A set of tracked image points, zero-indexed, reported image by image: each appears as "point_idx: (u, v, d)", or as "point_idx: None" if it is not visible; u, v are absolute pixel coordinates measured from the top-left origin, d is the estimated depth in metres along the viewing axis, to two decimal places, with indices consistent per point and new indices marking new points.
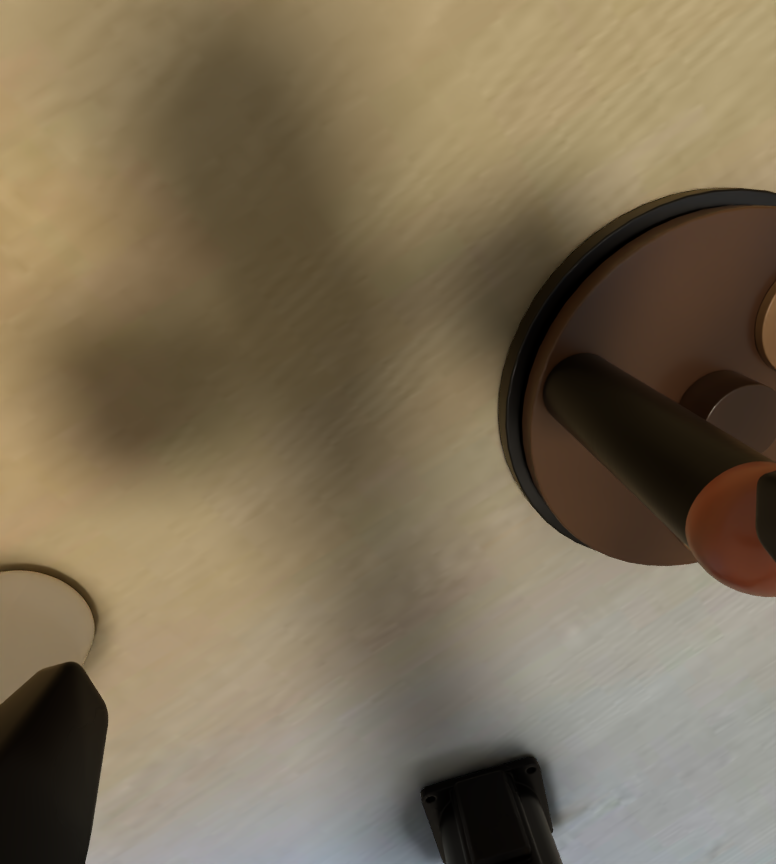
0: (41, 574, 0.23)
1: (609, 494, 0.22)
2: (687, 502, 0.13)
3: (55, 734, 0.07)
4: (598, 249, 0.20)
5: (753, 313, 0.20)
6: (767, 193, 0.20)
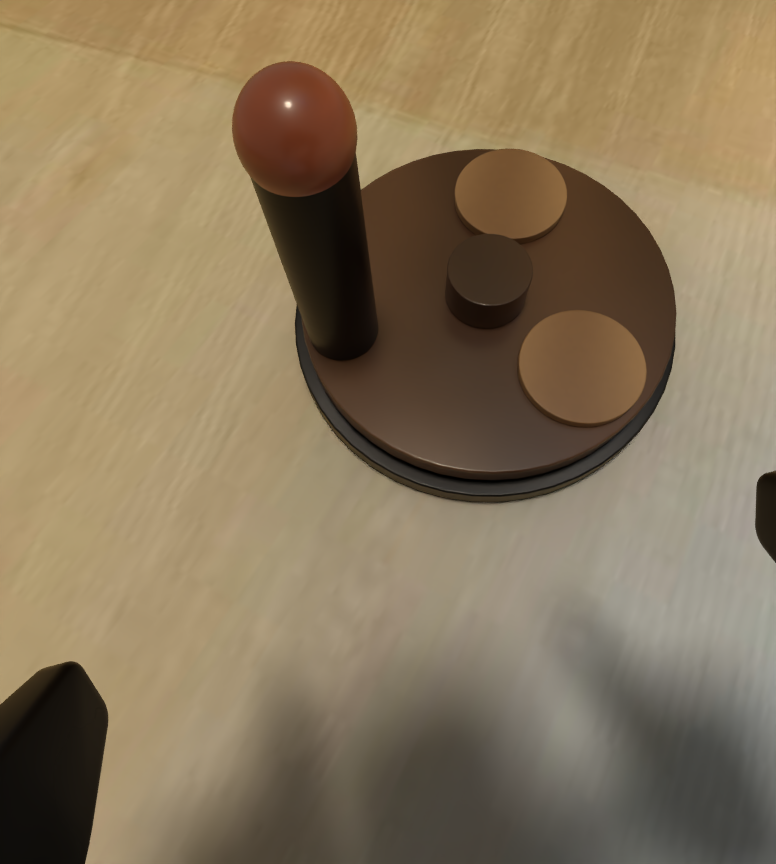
0: None
1: (442, 406, 0.21)
2: None
3: (55, 734, 0.07)
4: None
5: (455, 219, 0.23)
6: None
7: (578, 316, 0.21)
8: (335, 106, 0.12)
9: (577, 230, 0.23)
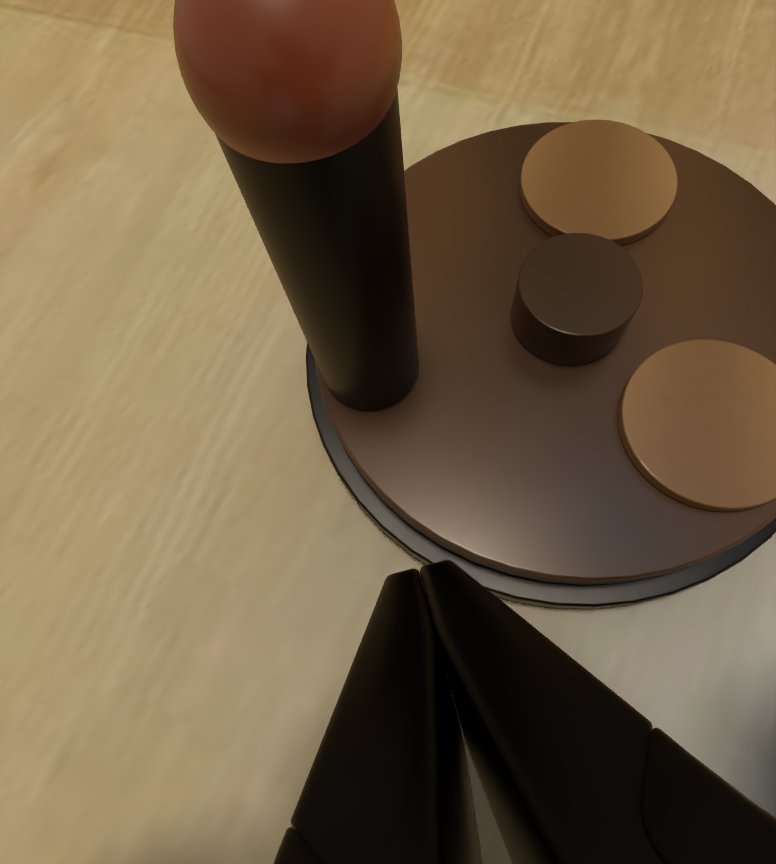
0: None
1: (512, 478, 0.14)
2: None
3: (435, 632, 0.07)
4: None
5: (522, 215, 0.17)
6: None
7: (705, 348, 0.15)
8: None
9: (693, 227, 0.16)
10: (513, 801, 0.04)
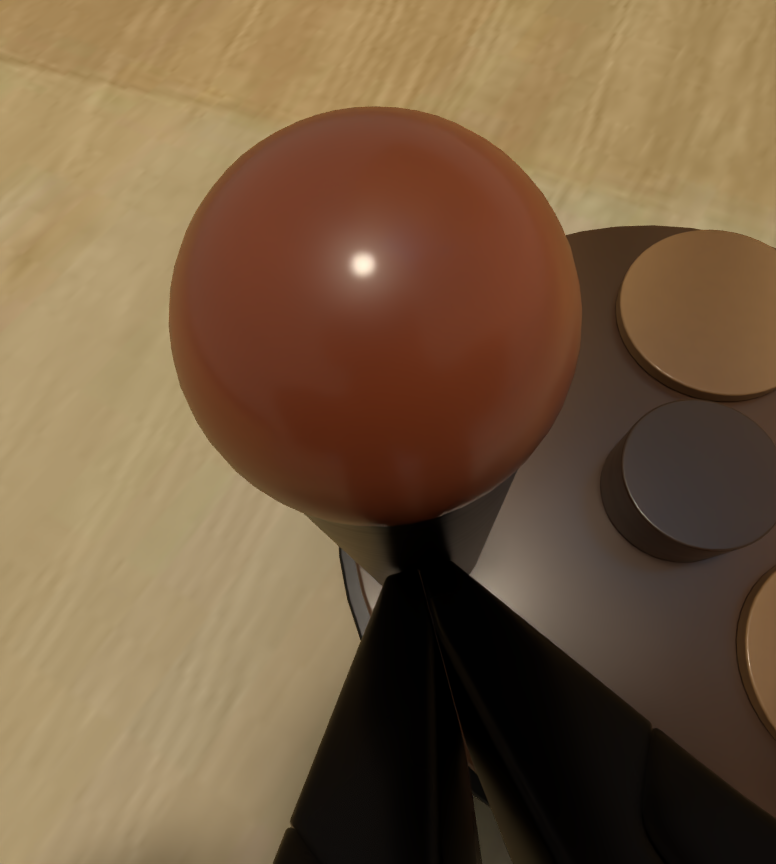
0: None
1: None
2: None
3: (434, 631, 0.07)
4: None
5: (618, 347, 0.14)
6: None
7: None
8: (545, 290, 0.03)
9: None
10: (513, 801, 0.04)
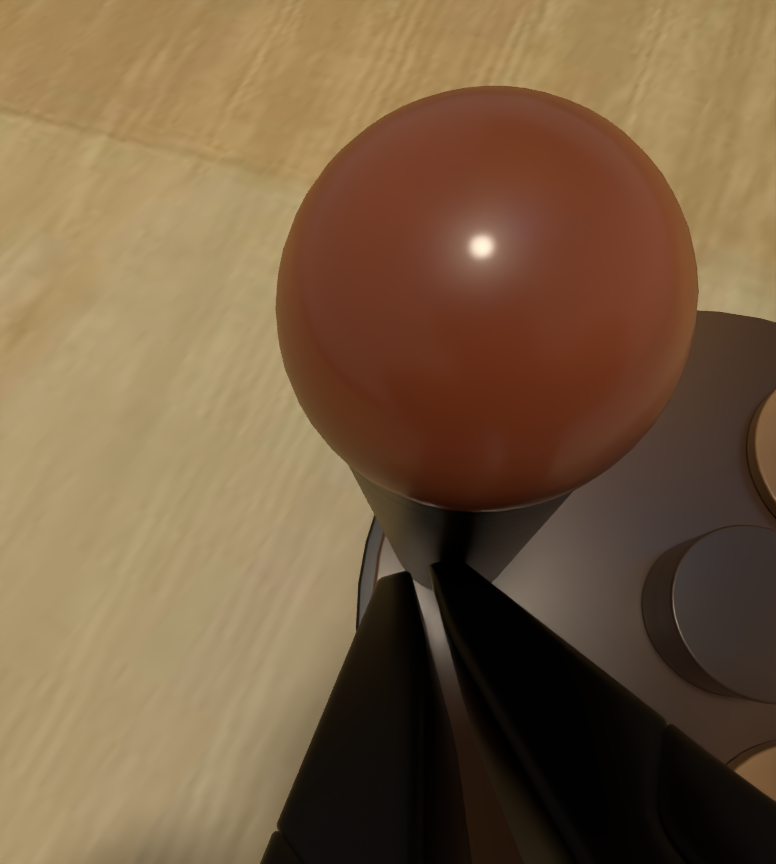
0: None
1: None
2: None
3: (426, 634, 0.07)
4: None
5: (739, 449, 0.13)
6: None
7: None
8: (639, 344, 0.03)
9: None
10: (527, 798, 0.04)
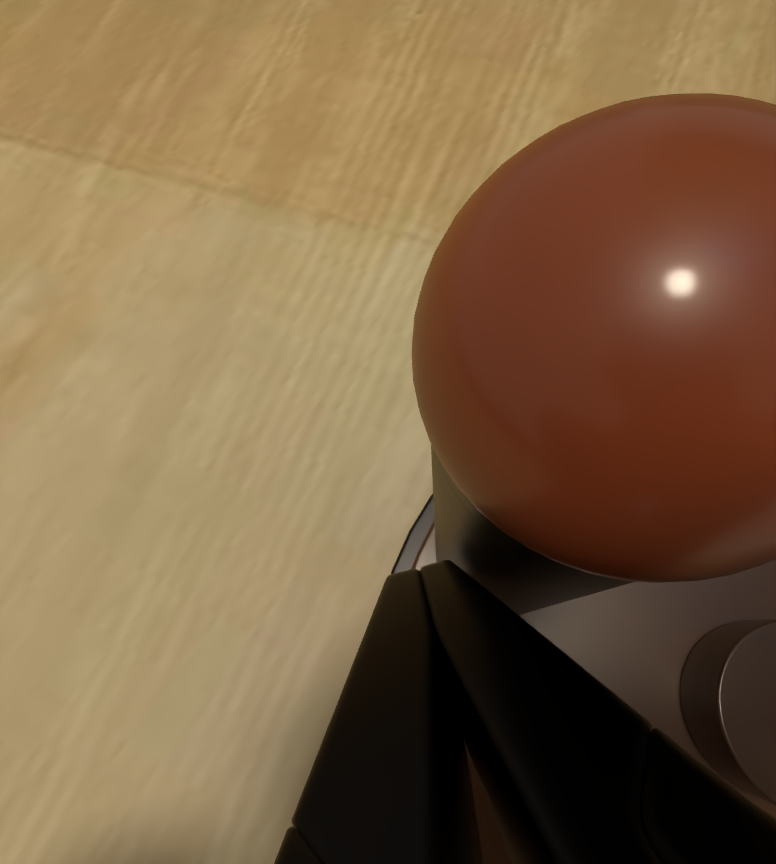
0: None
1: None
2: None
3: None
4: (407, 551, 0.14)
5: None
6: None
7: None
8: None
9: None
10: (512, 802, 0.04)
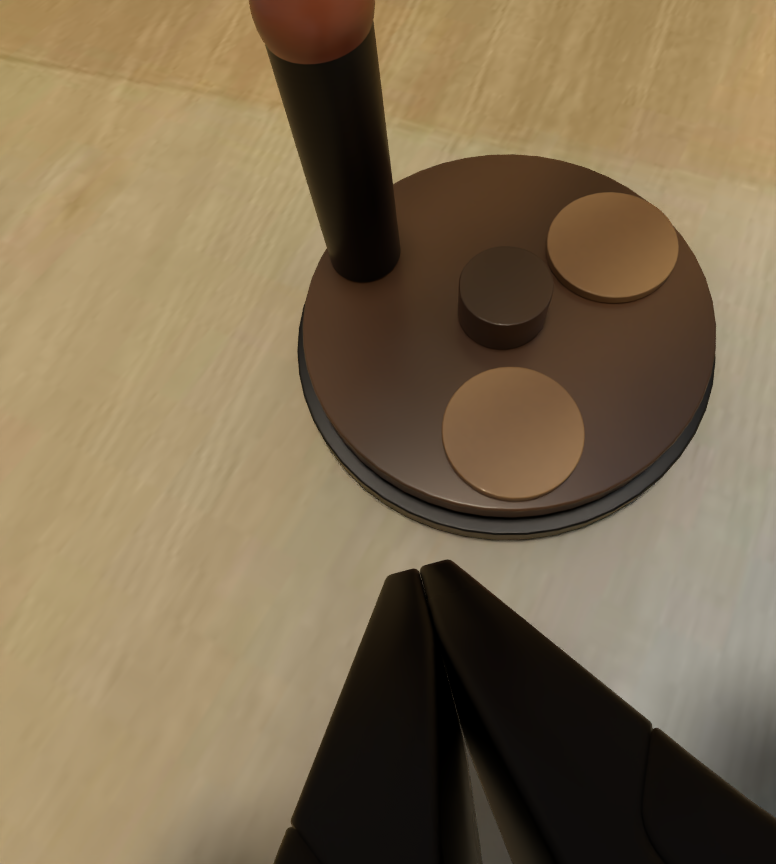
0: None
1: (373, 369, 0.20)
2: None
3: (435, 632, 0.07)
4: None
5: (544, 233, 0.21)
6: None
7: (553, 389, 0.18)
8: None
9: (641, 322, 0.19)
10: (513, 801, 0.04)
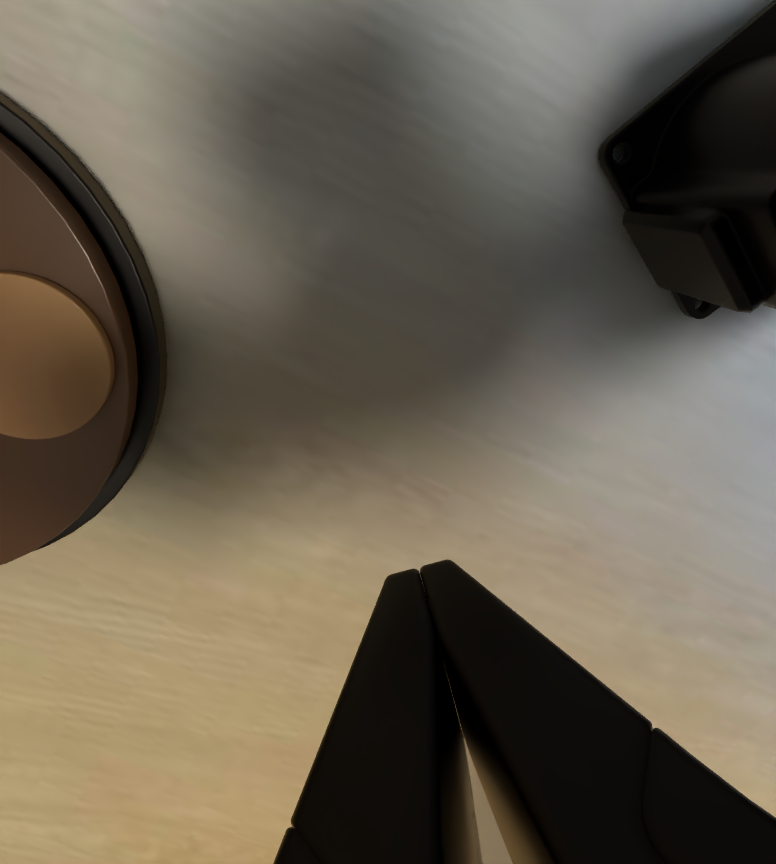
0: None
1: None
2: None
3: None
4: None
5: None
6: None
7: None
8: None
9: None
10: (512, 801, 0.04)
